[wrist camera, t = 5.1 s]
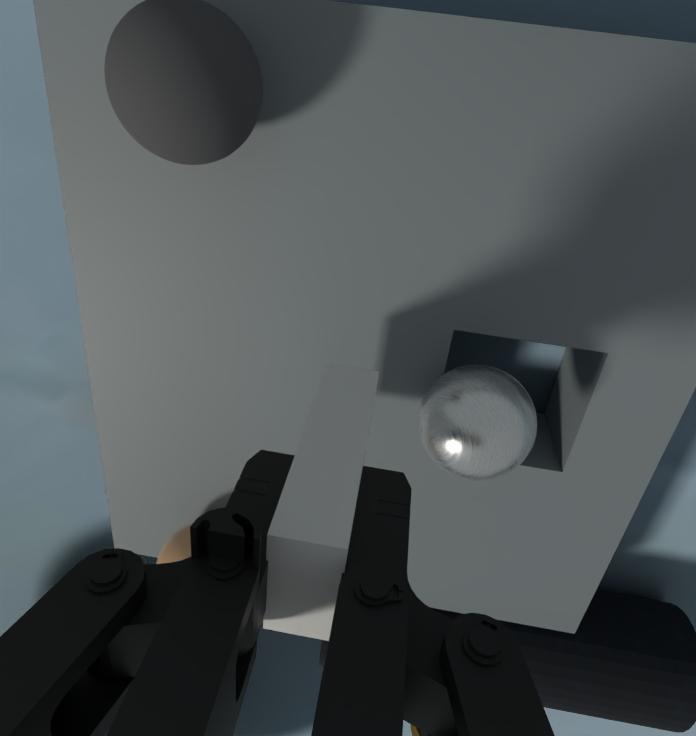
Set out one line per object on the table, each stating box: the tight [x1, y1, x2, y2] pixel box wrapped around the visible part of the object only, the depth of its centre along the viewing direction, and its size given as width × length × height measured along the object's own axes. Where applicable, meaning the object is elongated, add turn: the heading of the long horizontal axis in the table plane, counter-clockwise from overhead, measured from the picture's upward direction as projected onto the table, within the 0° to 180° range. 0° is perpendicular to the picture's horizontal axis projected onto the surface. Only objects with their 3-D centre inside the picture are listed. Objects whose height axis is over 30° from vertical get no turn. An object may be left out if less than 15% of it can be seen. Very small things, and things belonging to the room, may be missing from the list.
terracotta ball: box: [156, 523, 193, 564], centre depth 21 cm, size 3×3×3 cm
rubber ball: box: [104, 0, 263, 165], centre depth 13 cm, size 3×3×3 cm
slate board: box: [33, 0, 696, 634], centre depth 19 cm, size 19×20×4 cm
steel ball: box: [418, 364, 537, 481], centre depth 16 cm, size 3×3×3 cm
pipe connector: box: [319, 590, 696, 736], centre depth 26 cm, size 12×5×15 cm
